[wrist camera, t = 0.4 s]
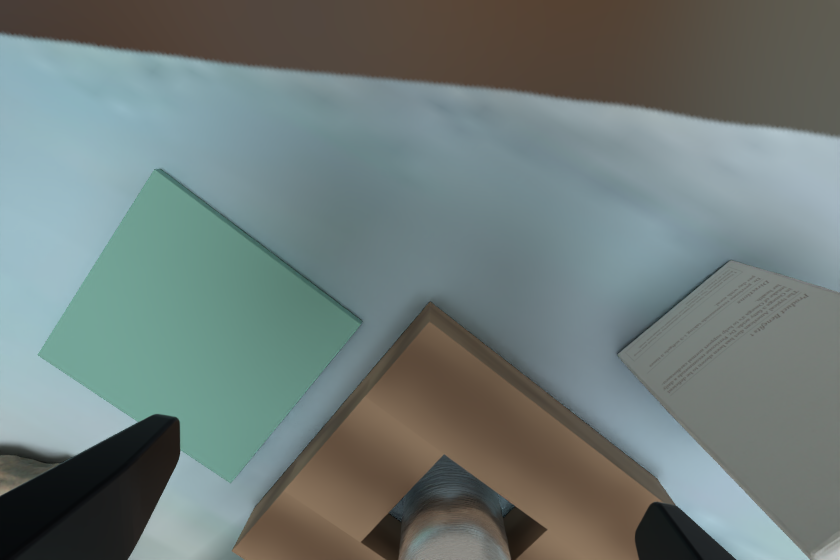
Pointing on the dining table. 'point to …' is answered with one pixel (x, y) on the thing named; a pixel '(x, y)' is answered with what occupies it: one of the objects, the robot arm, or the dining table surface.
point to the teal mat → (197, 327)
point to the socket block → (464, 444)
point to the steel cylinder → (452, 517)
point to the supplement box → (757, 391)
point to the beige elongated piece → (19, 471)
